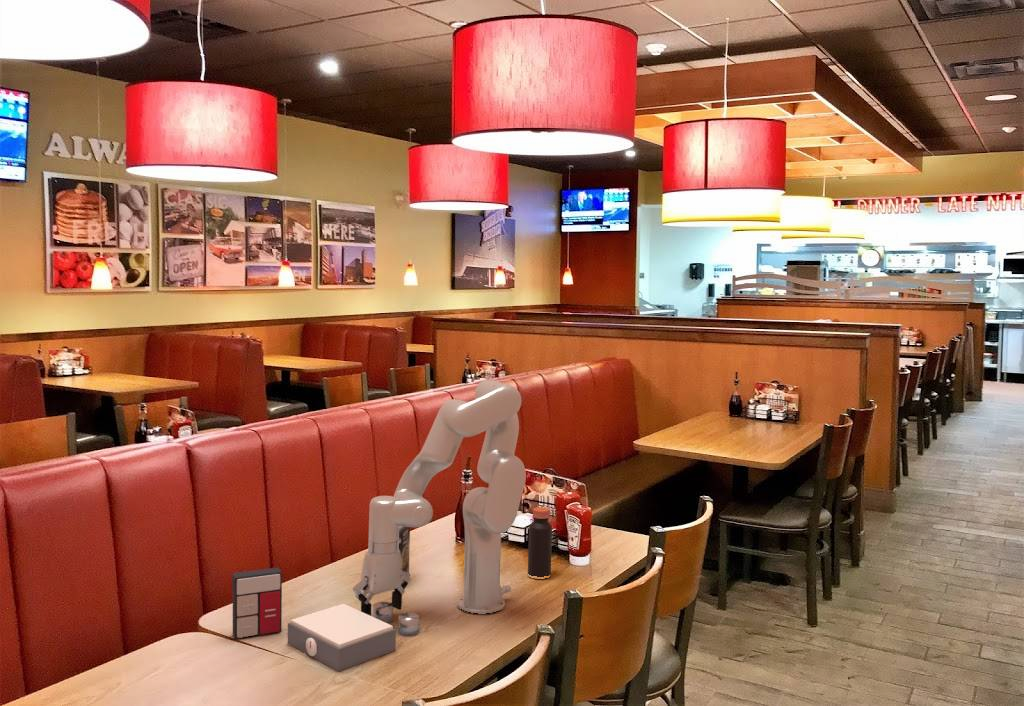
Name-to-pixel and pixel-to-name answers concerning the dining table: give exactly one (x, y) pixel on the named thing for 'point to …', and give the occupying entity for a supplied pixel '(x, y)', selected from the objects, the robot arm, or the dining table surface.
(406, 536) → the coffee box
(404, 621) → the cylinder
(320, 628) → the scale
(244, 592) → the grey red panel
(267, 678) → the dining table surface
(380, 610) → the cylinder
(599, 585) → the dining table surface
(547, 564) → the bottle
